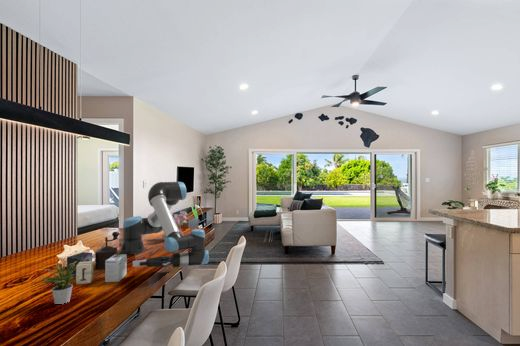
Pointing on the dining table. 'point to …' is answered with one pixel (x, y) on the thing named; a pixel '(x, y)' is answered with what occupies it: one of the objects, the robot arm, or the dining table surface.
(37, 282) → the dining table surface
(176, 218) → the flower
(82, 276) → the beige block
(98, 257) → the manual coffee grinder
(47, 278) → the house plant
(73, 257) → the small box
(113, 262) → the light bulb box
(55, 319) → the dining table surface
